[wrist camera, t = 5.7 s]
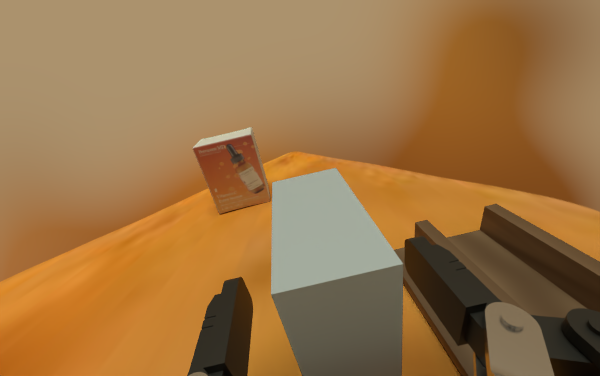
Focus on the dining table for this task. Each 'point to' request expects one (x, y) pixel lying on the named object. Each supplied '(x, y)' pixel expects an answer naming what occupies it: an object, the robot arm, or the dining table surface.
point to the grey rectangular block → (334, 279)
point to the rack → (512, 272)
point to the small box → (233, 170)
